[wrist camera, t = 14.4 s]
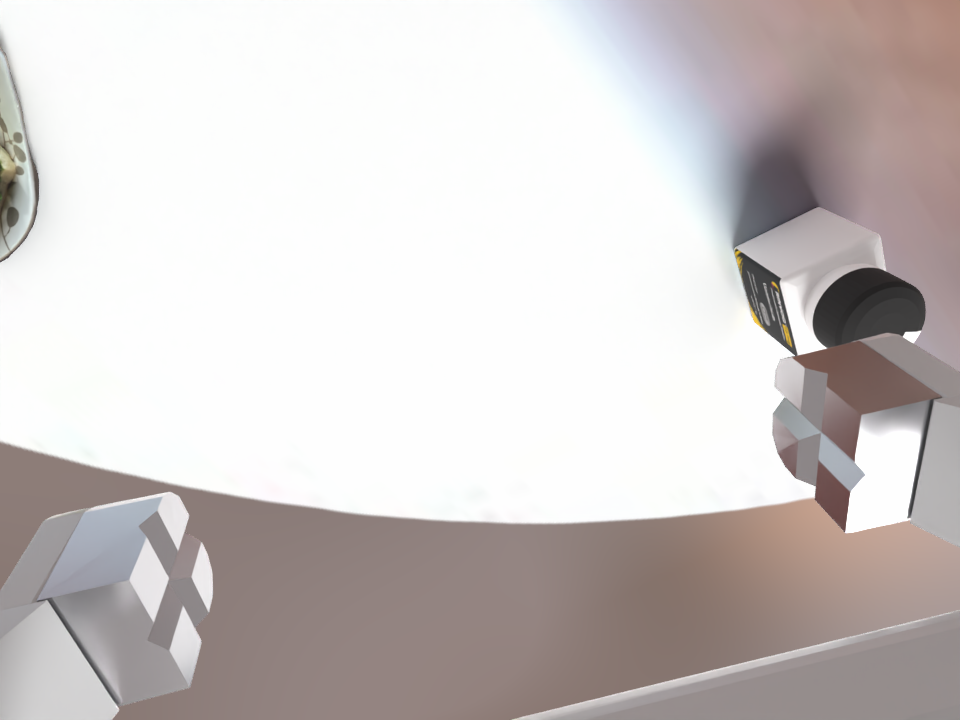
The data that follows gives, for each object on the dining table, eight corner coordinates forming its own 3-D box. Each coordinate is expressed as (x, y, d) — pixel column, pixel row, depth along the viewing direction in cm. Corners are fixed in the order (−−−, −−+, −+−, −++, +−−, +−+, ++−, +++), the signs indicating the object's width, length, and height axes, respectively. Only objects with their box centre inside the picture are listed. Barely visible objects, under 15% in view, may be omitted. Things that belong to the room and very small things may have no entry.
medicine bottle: (731, 247, 52) (824, 310, 41) (819, 204, 51) (936, 257, 41) (752, 322, 55) (844, 398, 45) (835, 282, 55) (947, 350, 44)
